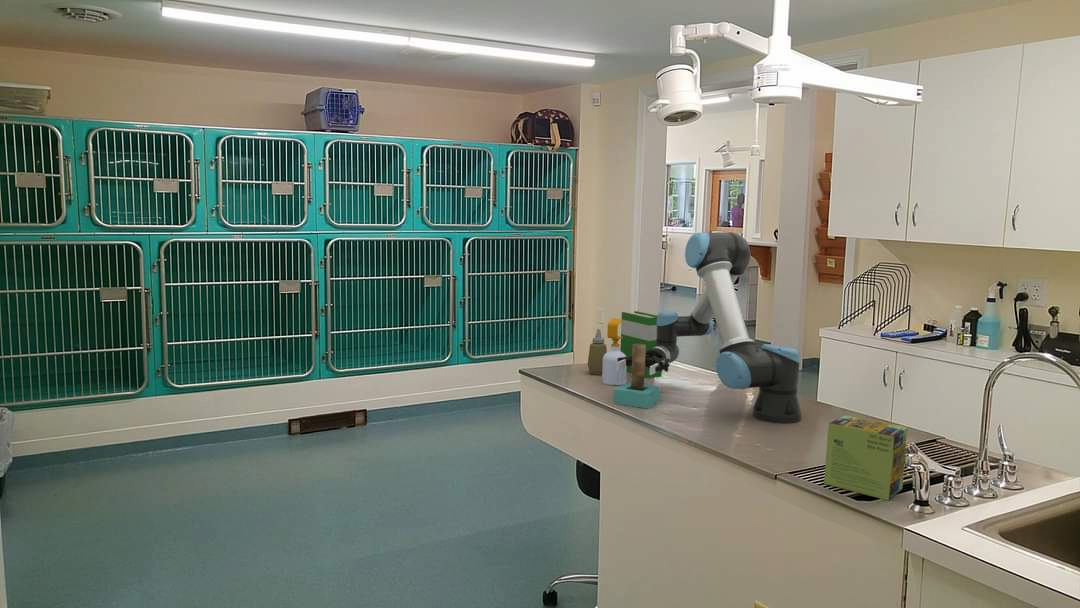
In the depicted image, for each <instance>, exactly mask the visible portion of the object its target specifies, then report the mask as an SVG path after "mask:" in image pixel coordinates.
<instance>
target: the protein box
mask: <svg viewBox="0 0 1080 608" xmlns="http://www.w3.org/2000/svg"><path fill="white" fill-rule="evenodd" d="M907 432H908V426H903V425H896V424H891V423H887V422H881V421H879V420H878V421H877V420H873V419H872V420H871V419H868V418H867V419H866V418H860V417H856V416H849V415H842V416H841V417H839V418H837V419H835V420H833V421H830V422H828V429H827V443H826V453H825V467H824V477H823V478H824V479H823V484H824V485H826V486H827V485H828V486H831V487H835V488H840V489H844V490H847V491H850V492H854V493H859V494H862V495H864V496H865V495H866V496H869V497H874V498H878V499H881V500H885V501H890V500H891V499H892V498H893V497H895V496H896V495H897V494H898V493H899V492H900V491H902V490H903V486H904V469H905V457H906V448H907V447H906V445H907V437H908V436H907V435H908V433H907Z"/></svg>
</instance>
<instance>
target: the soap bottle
mask: <svg viewBox="0 0 1080 608" xmlns="http://www.w3.org/2000/svg"><path fill="white" fill-rule="evenodd" d="M621 321H622V318H616V317H615V318H612V319H611V320H609V321H608V323H607V338H608V339H611V341H612V343H611V344H610V350H609V351H607V353H606V354H604V356H603V368H602V375H601V376H602V377H601V379H602V380H601V382H602V383H603V384H604V385H608V386H614V385H618V386H622V385H624V384H626V383H627V373H628V372H627V366H626V367H625V368H623V369H621V370H619V371H618V370H617V362H618V358H621V357H626V355H625V354H624V353H622V352H621V351H620V347H621V344H619V343H618V342H619V341H620V340H621V338H622V337H621V335H620V336H619V335H618V333H619V330H618V329H619V325H620V324H621Z"/></svg>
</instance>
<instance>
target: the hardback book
mask: <svg viewBox="0 0 1080 608" xmlns="http://www.w3.org/2000/svg"><path fill="white" fill-rule="evenodd" d="M657 316H658V314H651V313H647V312H641V311H636V310H634V311H633V312H625V311H621V319H622V321H621V322H620V324H621V325H620V326H621V327H620V336H621V337H622V338H620V351H621V352H622V353H624V354H625V355H626V357H627V356H632V350H633V344H645V345H646V352H647V351H648V350H650V349H652V348H654V347H656V339H657ZM646 352H645V353H646ZM628 372H629V373H628ZM626 373H628V374H631V373H632V366H627V372H626ZM662 375H663V371H658V372H656V373H654V374H652V375H650V369H649V368H648V367H647V366H645V378H644V379H647V378H648V379H654V377H656V378H661V377H662Z"/></svg>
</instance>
